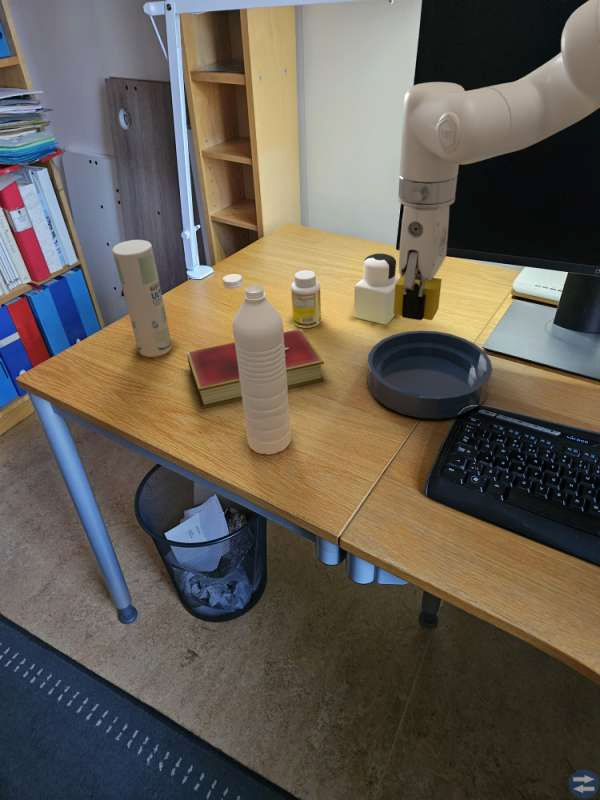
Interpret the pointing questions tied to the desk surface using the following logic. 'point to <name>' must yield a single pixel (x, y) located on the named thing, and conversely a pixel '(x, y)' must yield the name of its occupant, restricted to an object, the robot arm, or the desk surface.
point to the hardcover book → (221, 374)
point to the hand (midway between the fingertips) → (416, 309)
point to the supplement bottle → (306, 299)
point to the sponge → (430, 291)
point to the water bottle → (261, 369)
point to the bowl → (428, 373)
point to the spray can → (143, 296)
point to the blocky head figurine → (376, 289)
